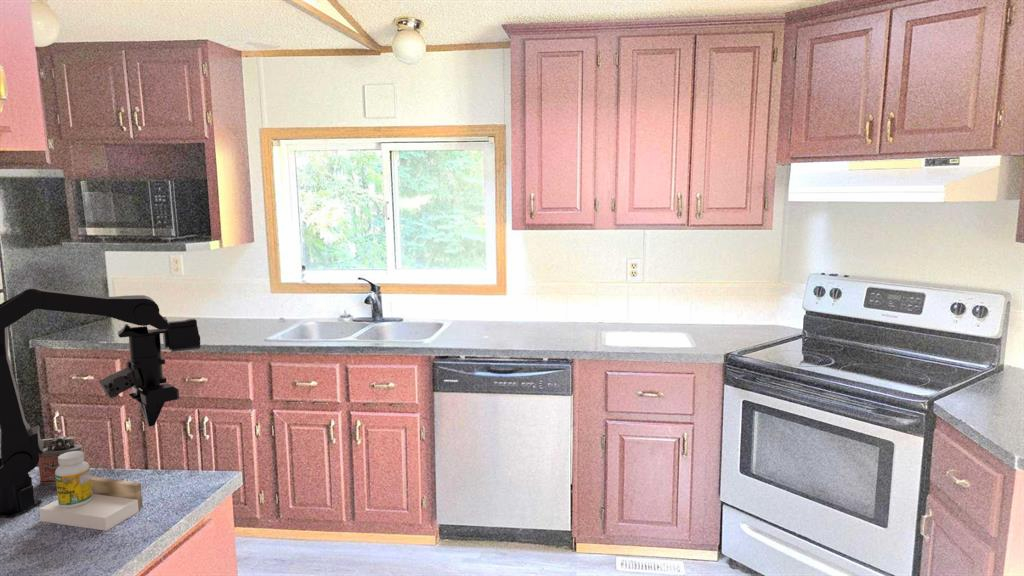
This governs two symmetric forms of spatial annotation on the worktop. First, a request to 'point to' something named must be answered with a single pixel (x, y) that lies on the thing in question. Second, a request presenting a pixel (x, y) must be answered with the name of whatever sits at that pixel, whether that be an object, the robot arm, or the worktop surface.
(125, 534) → the worktop surface
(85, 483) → the supplement bottle
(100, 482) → the wooden board
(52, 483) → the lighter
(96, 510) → the white slab
